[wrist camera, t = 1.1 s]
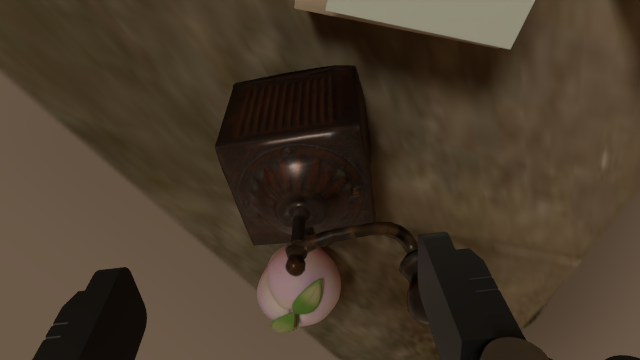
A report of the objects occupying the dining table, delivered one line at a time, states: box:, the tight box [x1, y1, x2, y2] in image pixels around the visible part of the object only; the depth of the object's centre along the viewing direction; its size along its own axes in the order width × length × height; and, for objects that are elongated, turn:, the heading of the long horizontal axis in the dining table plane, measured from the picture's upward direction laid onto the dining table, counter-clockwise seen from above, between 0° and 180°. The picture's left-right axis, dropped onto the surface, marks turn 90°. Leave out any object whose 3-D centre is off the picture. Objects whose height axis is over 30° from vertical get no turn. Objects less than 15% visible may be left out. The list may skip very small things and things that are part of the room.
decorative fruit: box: [257, 245, 341, 333], centre depth 48 cm, size 9×8×10 cm
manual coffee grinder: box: [215, 65, 429, 324], centre depth 34 cm, size 16×11×18 cm
